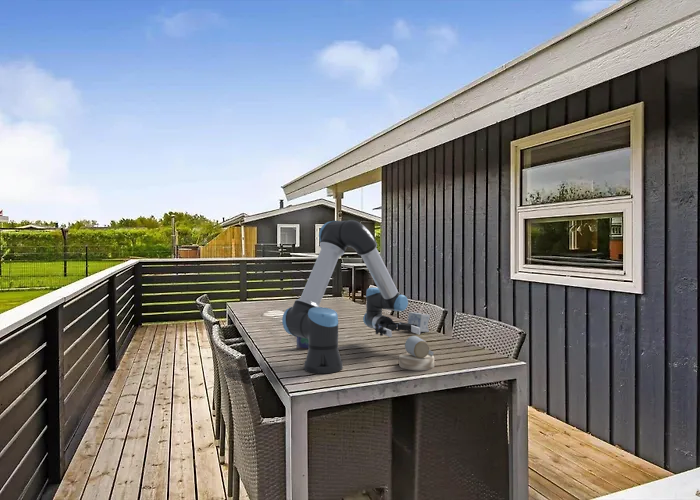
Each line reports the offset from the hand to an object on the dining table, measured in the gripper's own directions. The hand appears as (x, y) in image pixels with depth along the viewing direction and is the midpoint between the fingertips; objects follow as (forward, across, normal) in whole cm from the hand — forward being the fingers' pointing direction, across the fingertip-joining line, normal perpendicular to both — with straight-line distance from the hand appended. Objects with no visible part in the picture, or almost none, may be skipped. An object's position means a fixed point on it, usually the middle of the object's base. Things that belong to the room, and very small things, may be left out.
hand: (405, 332), depth 197 cm
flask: (-36, +32, -12) cm, 50 cm away
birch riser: (+9, 0, -12) cm, 15 cm away
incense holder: (-50, -35, -12) cm, 62 cm away
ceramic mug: (+10, -2, -8) cm, 13 cm away
